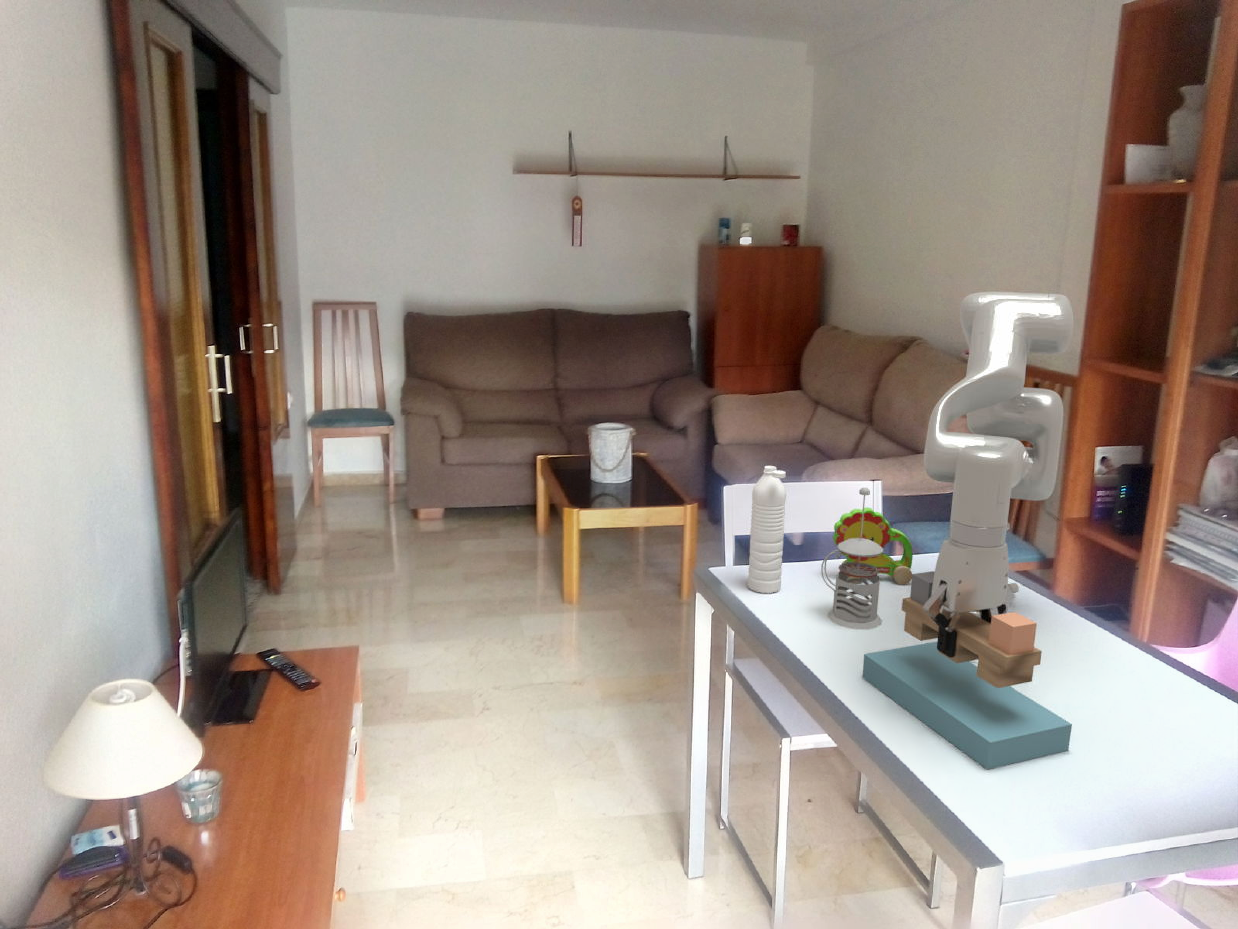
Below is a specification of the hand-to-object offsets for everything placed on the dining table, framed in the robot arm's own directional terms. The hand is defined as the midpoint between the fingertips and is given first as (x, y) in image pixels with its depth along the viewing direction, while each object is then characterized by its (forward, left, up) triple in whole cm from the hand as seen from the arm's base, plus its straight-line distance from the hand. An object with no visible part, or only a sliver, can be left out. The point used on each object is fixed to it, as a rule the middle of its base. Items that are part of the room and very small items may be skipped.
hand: (964, 649), depth 136 cm
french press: (-5, -35, -10) cm, 37 cm away
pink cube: (0, +8, +4) cm, 10 cm away
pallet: (0, 0, -1) cm, 1 cm away
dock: (0, 0, -10) cm, 10 cm away
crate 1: (0, -9, +4) cm, 9 cm away
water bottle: (+3, -52, -10) cm, 53 cm away
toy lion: (-20, -50, -10) cm, 55 cm away
